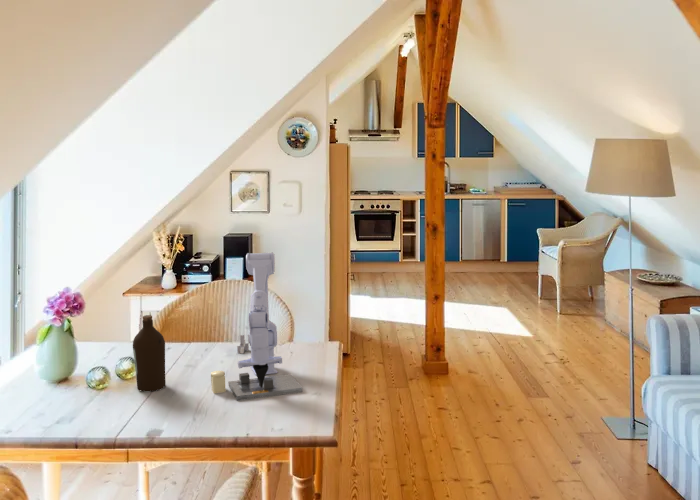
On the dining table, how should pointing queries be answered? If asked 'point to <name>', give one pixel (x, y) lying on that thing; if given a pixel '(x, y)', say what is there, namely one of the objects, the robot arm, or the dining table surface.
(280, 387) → the panel
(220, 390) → the cap
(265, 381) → the breaker tagged
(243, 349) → the architectural model
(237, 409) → the dining table surface
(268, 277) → the robot arm
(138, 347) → the olive oil
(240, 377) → the block
